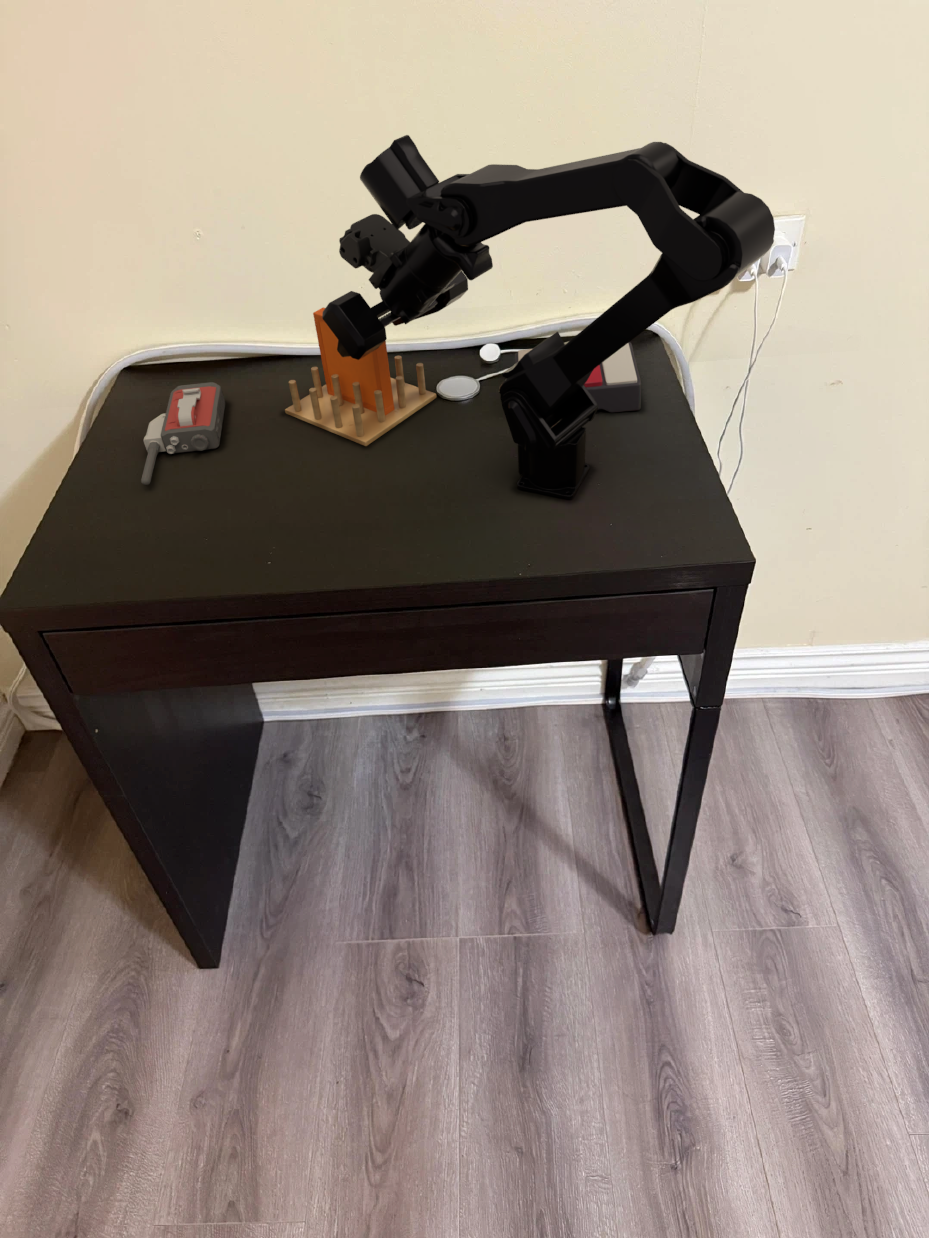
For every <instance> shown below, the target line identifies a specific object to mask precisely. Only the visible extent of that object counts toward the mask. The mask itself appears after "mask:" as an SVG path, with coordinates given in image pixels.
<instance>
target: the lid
mask: <svg viewBox="0 0 929 1238" xmlns="http://www.w3.org/2000/svg"><path fill="white" fill-rule="evenodd" d="M325 308H326V307H321V308H319V309H317V310H316V311H314V312H313V313H312V315H313V319H314V320H313V321H314V326H315V332H316V337H317V342H318V343H317V344H318V349H319V353H320V358H321V359H320V360H321V364H322V370H323V374H324V381H325V385H326V386H327V392H328V394H330V395H332V396H335V394H334V389H333V383H332V378H331V376H332V375H333V374H338V375H339V381H340V387H341V393H342V398H343V400H345V401H348V402H351V403H353V404H355V397H354V391H353V385H352V384H353V383H354V382H359V383H360V388H361V395H362V401H363V407H364V408H366V409H369V410H372V411H374V412H377V409H376V402H375V395H374V391H376V390H381V391H382V398H383V406H384V413H385V416H386V415H387V414H388V413H390V412H391V411H393V410H394V402H393V394H392V386H391V379H390V378H391V372H390V364H389V357H388V349H387V339H386V340H385V342H384V343H383V344H382V345H381V346H379V348H378V349H376V350H375V351H373V352H371V353H370V354H368V355H366V356H365V357H363V358H361V359H360V360H357V359H354V358H352V357H351V356H349V357H342V356H341V355H340V354H339V352H338V351H337V346H338V339H337V337H336V336H335V335H334V333H333V332H332V331H331V329H330V328H329V327H328V325H327V324H326V323H325V321H324V320H323V319H322V315H323V311H324V309H325Z"/></svg>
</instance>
